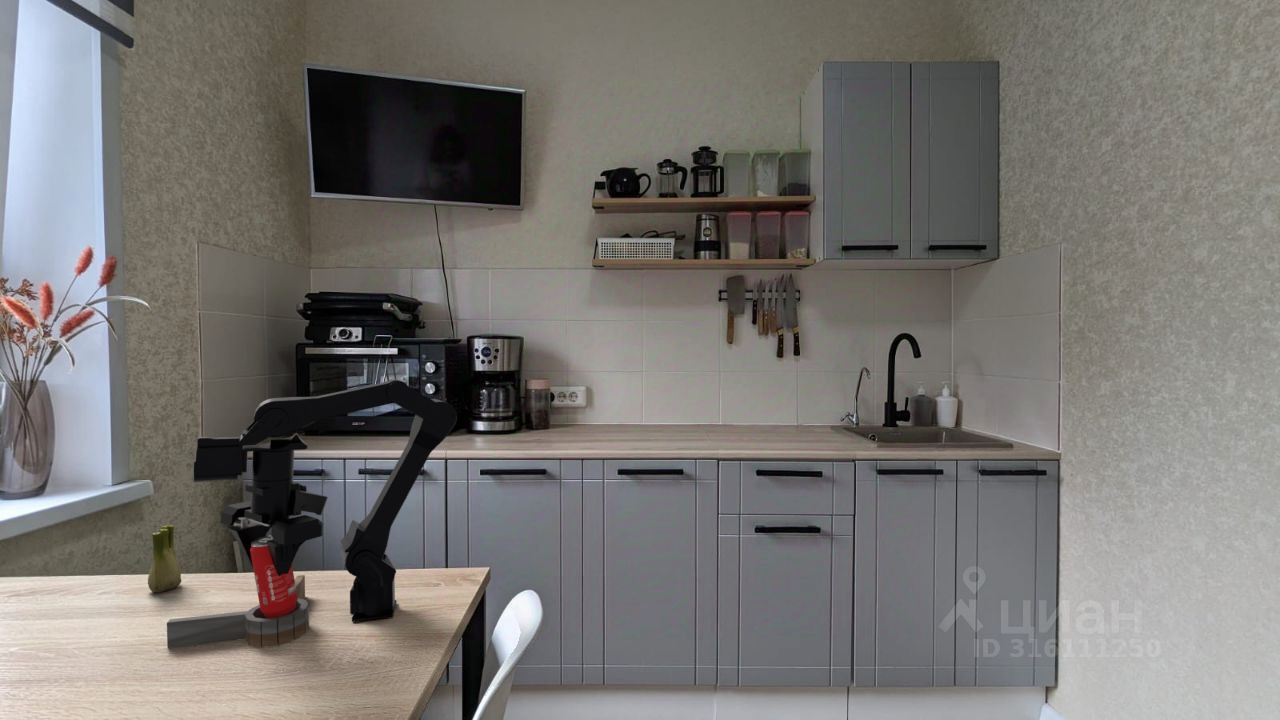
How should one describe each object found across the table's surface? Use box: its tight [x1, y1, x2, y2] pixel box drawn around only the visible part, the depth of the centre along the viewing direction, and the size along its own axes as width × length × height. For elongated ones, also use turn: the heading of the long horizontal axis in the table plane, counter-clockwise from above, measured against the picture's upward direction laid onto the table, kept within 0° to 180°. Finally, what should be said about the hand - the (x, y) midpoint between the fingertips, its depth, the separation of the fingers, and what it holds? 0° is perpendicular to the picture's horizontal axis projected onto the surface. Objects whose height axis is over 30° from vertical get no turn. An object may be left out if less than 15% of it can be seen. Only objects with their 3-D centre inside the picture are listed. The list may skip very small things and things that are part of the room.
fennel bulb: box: [147, 524, 182, 593], centre depth 118 cm, size 6×5×12 cm
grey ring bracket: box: [166, 574, 310, 649], centre depth 104 cm, size 19×19×4 cm
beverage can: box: [250, 534, 298, 618], centre depth 99 cm, size 5×5×12 cm
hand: (269, 574), depth 100 cm, fingers open, 7 cm apart
